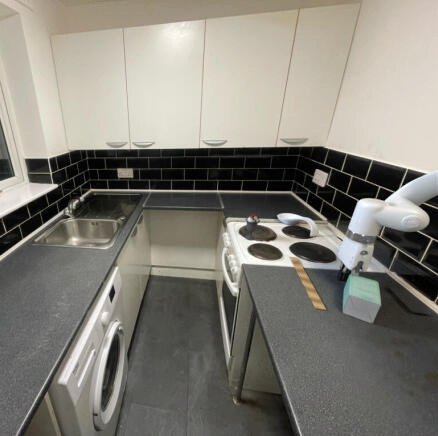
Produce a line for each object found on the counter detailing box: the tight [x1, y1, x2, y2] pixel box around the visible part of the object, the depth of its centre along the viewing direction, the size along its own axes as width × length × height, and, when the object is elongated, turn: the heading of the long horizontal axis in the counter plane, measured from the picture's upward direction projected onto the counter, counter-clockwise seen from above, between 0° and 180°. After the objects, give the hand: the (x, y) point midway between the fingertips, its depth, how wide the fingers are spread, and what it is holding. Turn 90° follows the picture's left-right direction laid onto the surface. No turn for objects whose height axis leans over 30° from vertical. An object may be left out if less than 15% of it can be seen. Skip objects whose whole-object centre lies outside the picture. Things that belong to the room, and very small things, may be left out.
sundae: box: [244, 211, 261, 241], centre depth 114 cm, size 7×7×15 cm
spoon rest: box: [276, 212, 320, 238], centre depth 125 cm, size 24×12×7 cm, turn 13°
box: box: [342, 274, 382, 324], centre depth 73 cm, size 7×14×8 cm, turn 141°
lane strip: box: [289, 256, 327, 311], centre depth 87 cm, size 30×3×1 cm, turn 164°
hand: (342, 280), depth 83 cm, fingers closed
